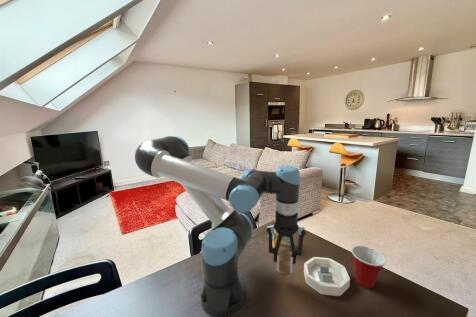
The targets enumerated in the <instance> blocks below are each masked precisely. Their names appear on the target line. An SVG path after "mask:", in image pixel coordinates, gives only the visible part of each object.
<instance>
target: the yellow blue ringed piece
mask: <svg viewBox="0 0 476 317" xmlns="http://www.w3.org/2000/svg"><path fill="white" fill-rule="evenodd" d="M267 234H268V233H267ZM277 236H278V233H277V231H276V230H275V229H273V232H272V248H274V247H275V244H276V240H277ZM267 240H268V241H269V234H268V235H267ZM281 242H283V243H290V238H289V237H288V239H287V238H286V236H285V237H282V240H281Z"/></svg>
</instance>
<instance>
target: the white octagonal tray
mask: <svg viewBox="0 0 476 317" xmlns="http://www.w3.org/2000/svg"><path fill="white" fill-rule="evenodd" d="M303 274H304V279H305V284H307V285H308V286H309V287H311V288H312V289H313V290H314V291H316V292H318V293H319V294H320V295H325V296H326V295H327V296H334V297H341V296H342V295H343V294H344V293H345V292H346V291H347V290H348V289H349V288H350V286H351V285H350V284H351V278H350V276H349V273H348V271H347V269H346V267H345V266H344V265H342V263H339V262H338V261H335V260H333V259H332V258H330V257H319V256H313V257H311V258H310V259H308V260H307V261H305V262H304V263H303Z"/></svg>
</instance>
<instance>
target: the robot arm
mask: <svg viewBox="0 0 476 317" xmlns="http://www.w3.org/2000/svg"><path fill="white" fill-rule="evenodd" d="M188 144H189V143H188V142H187V141H186V140H185V139H183V138H182V137H179V136H175V135H173V136H172V135H168V136H164V137H161V138H160V137H159V138H154V139H148V140H146V141H144V142H141V143H140V144H139V146H138V147H137V149H136V150H135V152H134V153H135V154H134V161H135V164H136V166H137V167H138V169H139V170H140V171H141V172H143V173H145V174H146V175H148V176H151V177H154V178H156V179H161V178H162V177H163V178H165V179H168V180H169V181H174V182H175V183H178V184H180V185H181V186H182V187H183V189H184V190H185V191H186V192H187V194H188V195H189V197H190V198H192V200H193V201H194V202H195V204H196V205H197V206H198V207H199V208H200V209H201V211H202V213H203V214H205V216H206V217H207V219H209V221H210V222H211V230H210V231H208V232H207V233H205V235H204V237H203V238H202V241H201V251H200V252H201V253H200V254H201V258H202V269H203V270H202V271H203V283H202V286H201V289H200V295H199V297H200V306H201V307H202V309H203V310H204V311H205V313H206V314H208V315H210V316H212V317H227V316H230V315H233V314H235V313H236V312H237V311H238V310H239V309H241V307H242V305H243V304H244V300H245V290H244V289H245V288H244V285H243V283H242V281H241V279H240V276H239V260H240V258H241V256H242V254H243V253H244V252H245V251H244V250H245V249H246V247H247V245H248V243H250V241H251V239H252V235H253V233H254V226H253V223H252V221H251V219H250V218H249V216H248V215H246V214H245V213H248V212H251V211H252V210H253V208H255V207H256V206H257V204H258V203H259V201H260V199H261V197H263V195H264V194H269V195H271V194H272V195H275V211H274V212H275V215H274V223H273V224H272V225H270V224H267V225H266V232H267V234H269V240H268V253H269V254H273V262H274V263H276V272H279V246H280V243H281V240H282V237H285V238H288V239H289V238H290V241H289V243H290V244H291V260H290V274H293V265H296V262H297V256H298V257H300V256H302V253H303V246H304V245H303V243H304V237H305V236H306V233H307V232H306V228H305V227H300V226H299V225H298V217H299V216H298V215H299V213H298V212H299V197H300V183H301V182H300V176H301V175H300V170H299V169H298V168H297V167H295V166H292V165H291V166H290V165H282V166H278V167H277V168H276V171H267V170H266V171H265V170H258V169H257V170H256V169H245V170H244V171H242V174H241V177H240V178H238V177H235V176H232V175H229V174H226V173H224V172H222V171H217V170H214V169H212V168H208V167H206V166H203V165H199V164H197V163H194V162H192V156H191V154H190V152H191V151H190V146H189V145H188ZM224 200H225V201H227V202H229V205H230V207H228V205H227V204H226V203H225V202H224ZM273 229H274V230H276V231H277V233H278V236H277V240H276V244H275V247H274V248H273V246H272V238H273V236H272V232H274V231H273ZM296 232H298V240H297V241H298V242H297V249H296V246H295V240H294V236H293V235H294V234H296Z"/></svg>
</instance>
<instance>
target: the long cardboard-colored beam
mask: <svg viewBox="0 0 476 317" xmlns="http://www.w3.org/2000/svg"><path fill="white" fill-rule="evenodd" d="M278 251H279V272H278V276H282V277H289V278H290V277H291V273H290V260H291V252H292V249H291V244H290V242H285V243H283V242H281V243H280V246H279V250H278Z"/></svg>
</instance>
